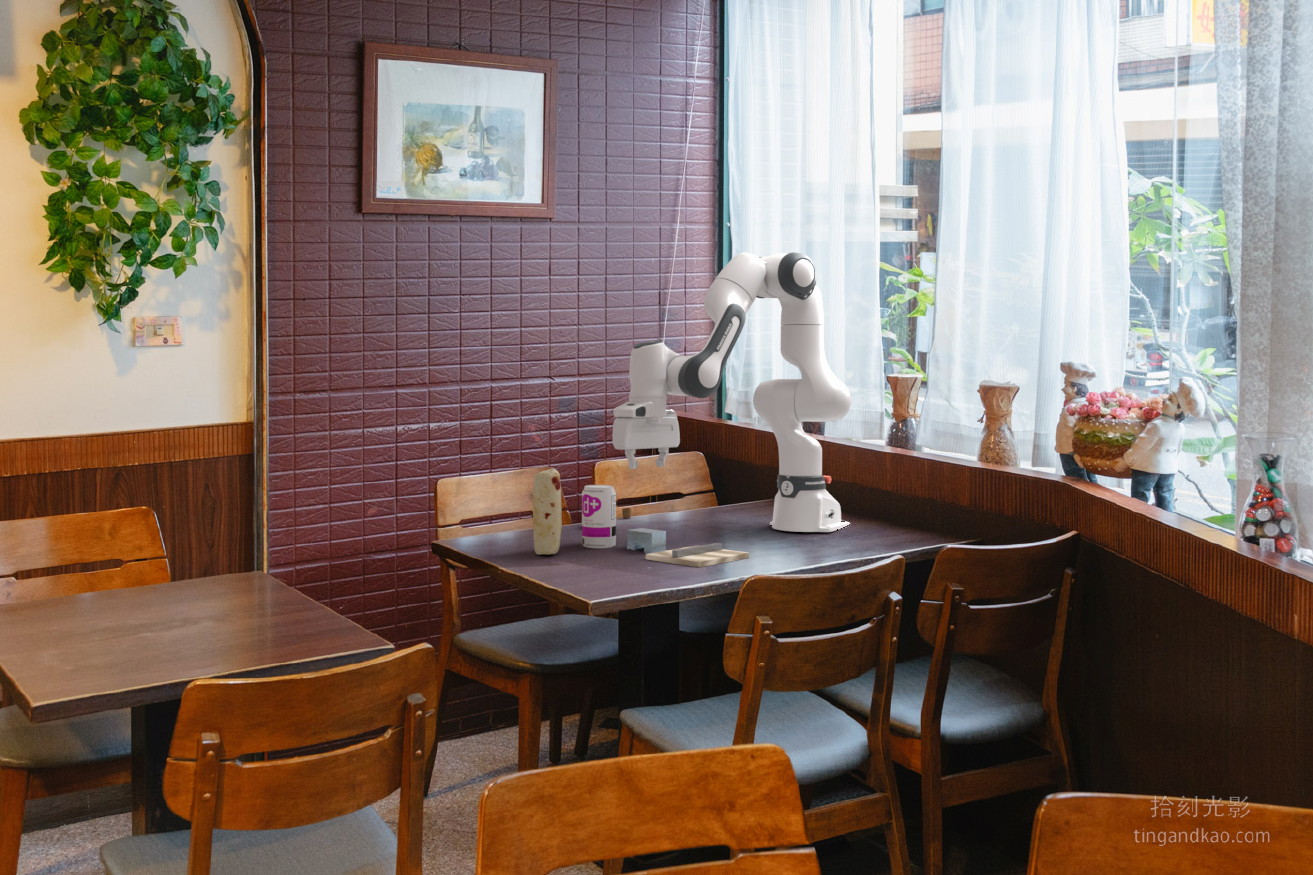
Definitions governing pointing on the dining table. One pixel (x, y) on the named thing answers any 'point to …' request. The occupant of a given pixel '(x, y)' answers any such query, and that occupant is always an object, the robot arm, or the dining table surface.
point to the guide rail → (696, 550)
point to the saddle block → (646, 540)
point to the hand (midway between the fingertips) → (646, 467)
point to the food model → (547, 512)
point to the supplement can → (598, 516)
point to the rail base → (698, 557)
